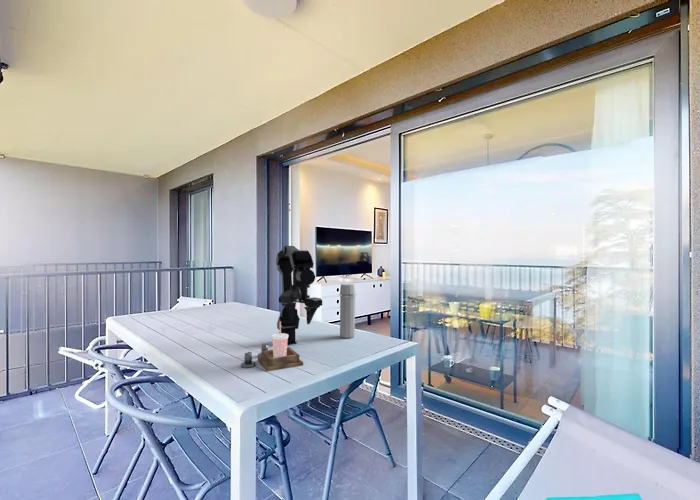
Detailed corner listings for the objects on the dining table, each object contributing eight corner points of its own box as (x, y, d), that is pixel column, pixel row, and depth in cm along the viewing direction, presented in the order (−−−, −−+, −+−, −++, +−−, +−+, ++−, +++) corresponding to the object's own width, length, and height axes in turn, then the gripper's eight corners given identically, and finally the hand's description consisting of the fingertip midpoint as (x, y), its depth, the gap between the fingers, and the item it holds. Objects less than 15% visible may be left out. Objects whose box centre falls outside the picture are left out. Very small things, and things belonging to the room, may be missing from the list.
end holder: (291, 355, 132) (291, 346, 132) (303, 365, 121) (303, 355, 121) (257, 360, 126) (257, 350, 126) (267, 371, 115) (267, 360, 115)
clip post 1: (253, 362, 123) (253, 350, 123) (257, 366, 119) (257, 354, 119) (239, 364, 121) (239, 352, 121) (242, 369, 116) (242, 356, 116)
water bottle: (340, 334, 165) (340, 283, 165) (356, 335, 164) (356, 283, 164) (337, 339, 156) (337, 285, 156) (354, 340, 155) (354, 285, 155)
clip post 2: (269, 353, 134) (269, 342, 134) (272, 356, 130) (272, 345, 130) (256, 355, 132) (256, 343, 132) (259, 358, 127) (259, 347, 127)
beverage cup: (273, 356, 127) (274, 319, 127) (290, 357, 126) (290, 320, 126) (269, 362, 120) (269, 323, 120) (286, 362, 120) (286, 323, 120)
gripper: (268, 282, 130) (267, 322, 130) (302, 285, 119) (302, 329, 119) (289, 280, 139) (289, 318, 139) (323, 283, 128) (323, 324, 128)
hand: (299, 322), depth 131 cm, fingers open, 9 cm apart
